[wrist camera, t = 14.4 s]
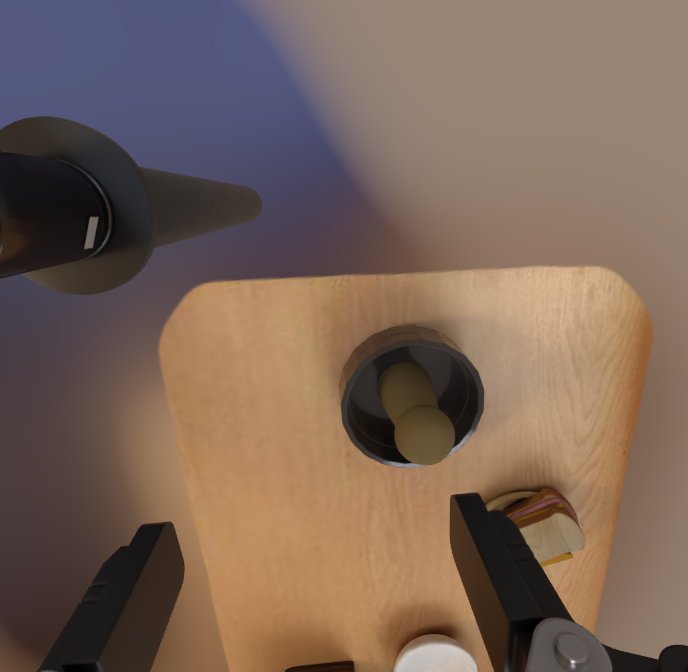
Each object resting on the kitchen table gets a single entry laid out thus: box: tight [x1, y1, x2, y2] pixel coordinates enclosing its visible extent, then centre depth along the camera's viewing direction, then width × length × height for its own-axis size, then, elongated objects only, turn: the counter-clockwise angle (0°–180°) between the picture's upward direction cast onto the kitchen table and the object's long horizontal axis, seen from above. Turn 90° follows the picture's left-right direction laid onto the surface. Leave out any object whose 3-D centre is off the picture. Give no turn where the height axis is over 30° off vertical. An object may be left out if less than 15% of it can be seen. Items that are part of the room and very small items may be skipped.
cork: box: [377, 362, 455, 465], centre depth 38 cm, size 6×6×11 cm
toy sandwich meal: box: [485, 488, 585, 567], centre depth 48 cm, size 12×14×5 cm
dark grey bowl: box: [339, 326, 484, 468], centre depth 41 cm, size 14×14×5 cm
